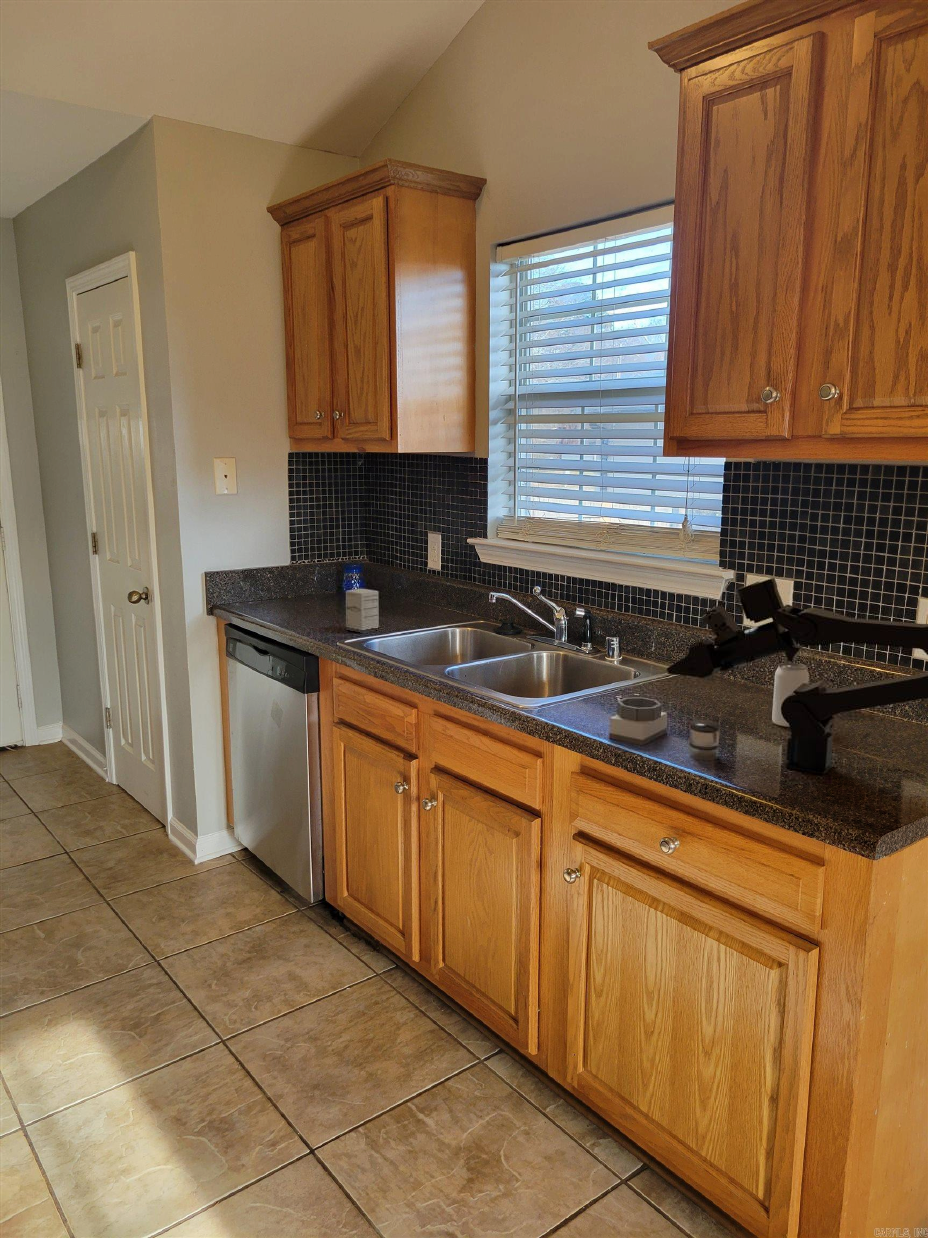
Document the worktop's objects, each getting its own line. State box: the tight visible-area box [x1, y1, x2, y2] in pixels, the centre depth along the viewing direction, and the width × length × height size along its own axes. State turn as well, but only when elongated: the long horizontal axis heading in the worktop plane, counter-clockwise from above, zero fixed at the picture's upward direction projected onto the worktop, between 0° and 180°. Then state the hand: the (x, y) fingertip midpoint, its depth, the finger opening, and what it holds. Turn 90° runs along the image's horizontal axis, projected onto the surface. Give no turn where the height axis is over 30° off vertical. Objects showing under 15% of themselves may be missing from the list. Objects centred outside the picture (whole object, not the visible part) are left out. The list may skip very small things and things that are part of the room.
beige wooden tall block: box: [345, 588, 380, 630], centre depth 279 cm, size 7×7×13 cm
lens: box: [688, 719, 721, 761], centre depth 165 cm, size 5×5×6 cm
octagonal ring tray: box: [608, 696, 668, 746], centre depth 176 cm, size 8×10×6 cm
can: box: [771, 662, 810, 728], centre depth 184 cm, size 6×6×12 cm
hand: (677, 668), depth 170 cm, fingers open, 9 cm apart
